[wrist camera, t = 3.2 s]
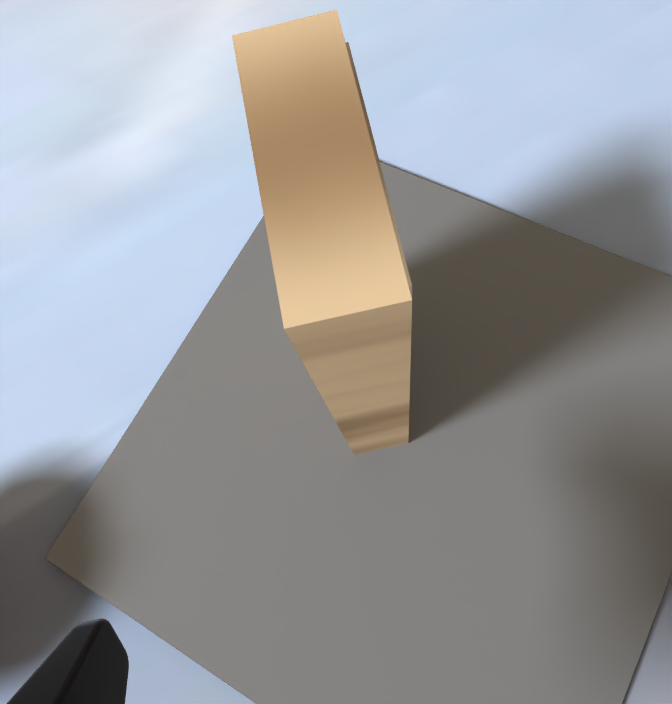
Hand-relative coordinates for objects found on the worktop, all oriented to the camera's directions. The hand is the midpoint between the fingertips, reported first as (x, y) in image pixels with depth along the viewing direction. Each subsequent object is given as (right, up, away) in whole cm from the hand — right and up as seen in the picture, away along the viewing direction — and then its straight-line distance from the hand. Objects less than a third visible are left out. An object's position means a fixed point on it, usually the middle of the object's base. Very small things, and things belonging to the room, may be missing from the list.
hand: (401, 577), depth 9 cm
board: (0, +3, +13) cm, 14 cm away
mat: (+2, 0, +13) cm, 13 cm away
